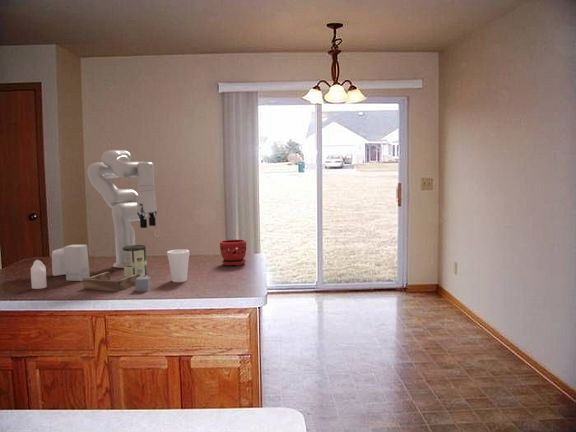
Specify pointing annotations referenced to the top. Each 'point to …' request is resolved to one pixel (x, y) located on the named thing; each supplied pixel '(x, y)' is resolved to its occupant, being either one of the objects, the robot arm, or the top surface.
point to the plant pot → (236, 255)
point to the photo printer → (58, 262)
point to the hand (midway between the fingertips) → (148, 226)
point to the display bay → (109, 282)
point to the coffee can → (135, 260)
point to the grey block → (143, 284)
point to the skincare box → (76, 262)
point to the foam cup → (178, 264)
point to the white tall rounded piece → (38, 275)
